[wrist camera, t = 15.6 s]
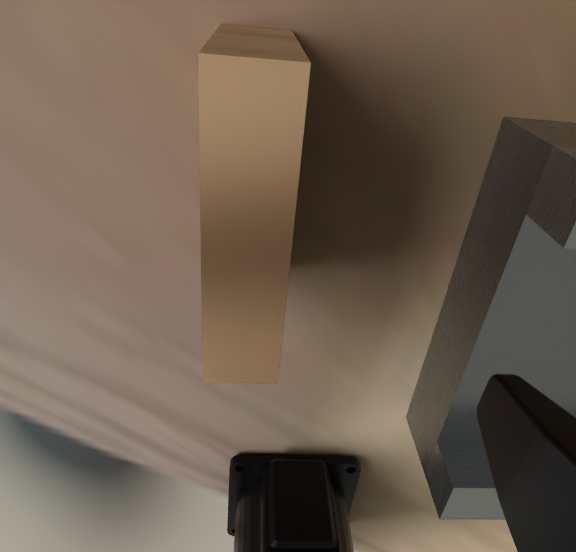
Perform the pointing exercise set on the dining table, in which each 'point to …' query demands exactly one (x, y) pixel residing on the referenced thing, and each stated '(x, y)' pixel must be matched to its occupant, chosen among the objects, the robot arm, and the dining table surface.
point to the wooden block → (248, 195)
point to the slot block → (502, 311)
